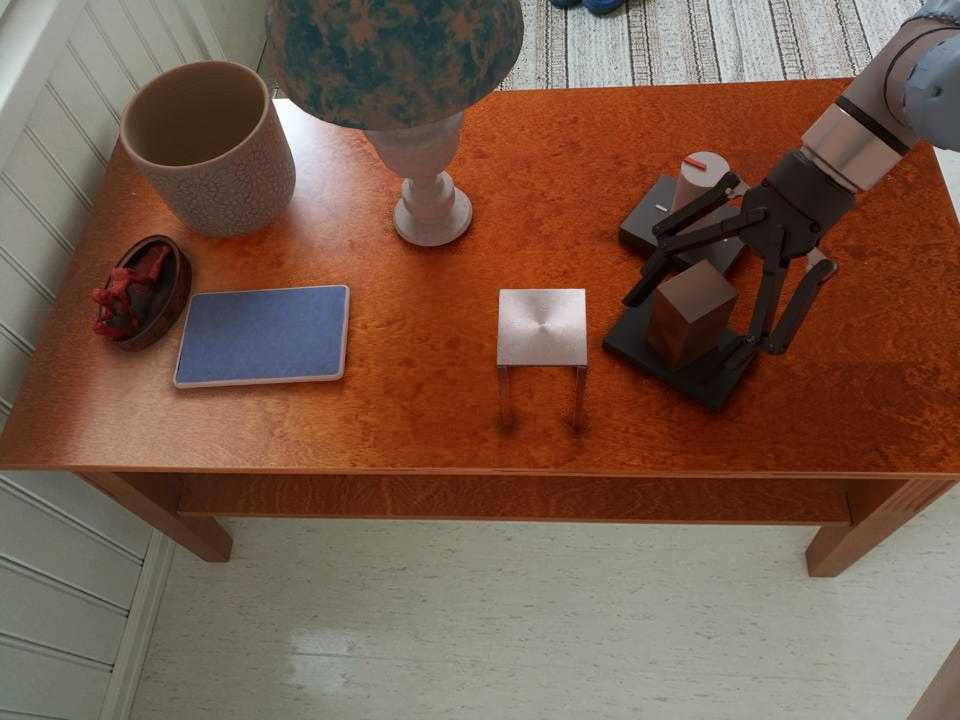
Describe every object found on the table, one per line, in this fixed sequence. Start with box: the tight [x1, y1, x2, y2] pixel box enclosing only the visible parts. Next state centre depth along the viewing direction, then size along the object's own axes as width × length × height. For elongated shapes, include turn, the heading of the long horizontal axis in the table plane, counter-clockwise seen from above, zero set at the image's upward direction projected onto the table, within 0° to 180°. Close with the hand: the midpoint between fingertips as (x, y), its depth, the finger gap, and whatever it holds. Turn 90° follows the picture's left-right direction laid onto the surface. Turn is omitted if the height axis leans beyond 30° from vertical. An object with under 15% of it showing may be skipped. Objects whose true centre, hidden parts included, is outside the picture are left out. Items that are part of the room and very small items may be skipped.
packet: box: [645, 259, 741, 372], centre depth 75 cm, size 5×6×10 cm
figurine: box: [90, 233, 193, 353], centre depth 86 cm, size 15×10×10 cm, turn 4°
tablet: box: [172, 284, 351, 390], centre depth 85 cm, size 19×13×1 cm, turn 91°
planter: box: [118, 59, 297, 239], centre depth 88 cm, size 17×17×15 cm
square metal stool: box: [496, 288, 589, 428], centre depth 73 cm, size 8×8×14 cm
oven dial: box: [670, 151, 731, 236], centre depth 82 cm, size 5×5×9 cm
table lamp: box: [264, 0, 525, 247], centre depth 74 cm, size 24×24×40 cm
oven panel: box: [617, 172, 749, 278], centre depth 87 cm, size 13×10×2 cm
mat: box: [601, 288, 758, 413], centre depth 80 cm, size 14×9×1 cm, turn 53°
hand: (662, 342), depth 76 cm, fingers open, 11 cm apart
